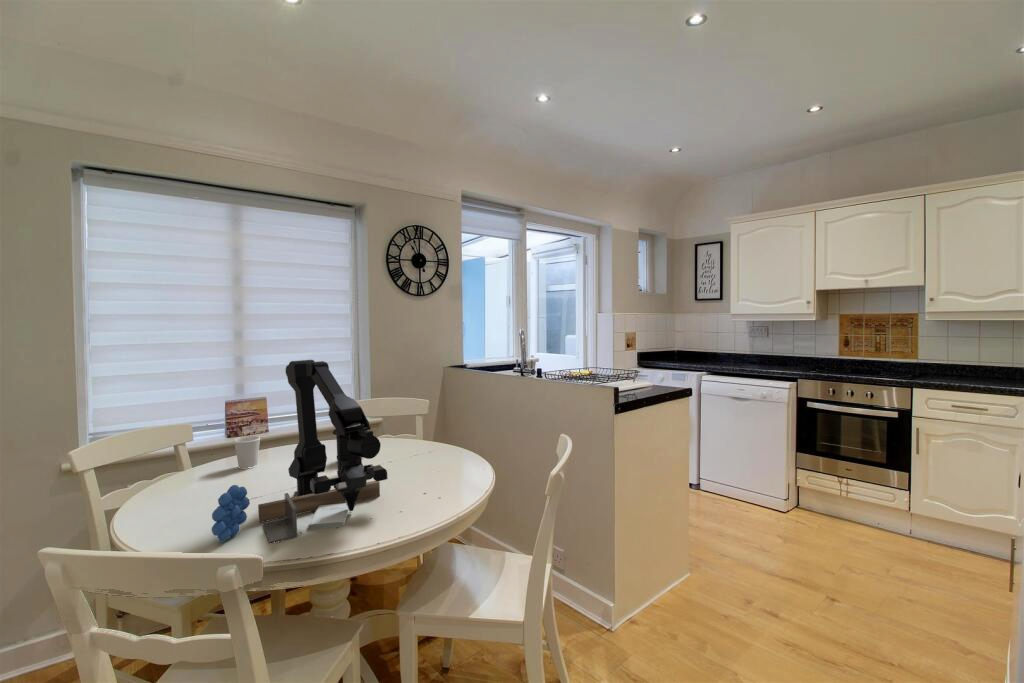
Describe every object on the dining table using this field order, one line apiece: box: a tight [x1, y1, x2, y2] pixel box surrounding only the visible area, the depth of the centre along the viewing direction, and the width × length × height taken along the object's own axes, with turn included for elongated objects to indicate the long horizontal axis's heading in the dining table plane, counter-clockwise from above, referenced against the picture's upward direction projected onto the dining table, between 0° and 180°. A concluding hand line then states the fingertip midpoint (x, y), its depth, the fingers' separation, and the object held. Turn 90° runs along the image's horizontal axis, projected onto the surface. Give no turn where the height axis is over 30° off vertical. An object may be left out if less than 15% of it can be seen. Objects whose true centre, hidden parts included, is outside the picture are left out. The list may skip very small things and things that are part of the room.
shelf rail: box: [257, 480, 381, 523], centre depth 129 cm, size 2×31×4 cm, turn 124°
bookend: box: [262, 492, 298, 544], centre depth 114 cm, size 12×6×7 cm, turn 34°
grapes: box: [211, 484, 251, 543], centre depth 112 cm, size 12×7×12 cm, turn 175°
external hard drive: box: [308, 503, 350, 530], centre depth 122 cm, size 2×8×12 cm
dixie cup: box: [233, 435, 261, 468], centre depth 166 cm, size 8×8×10 cm
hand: (350, 510), depth 125 cm, fingers closed
